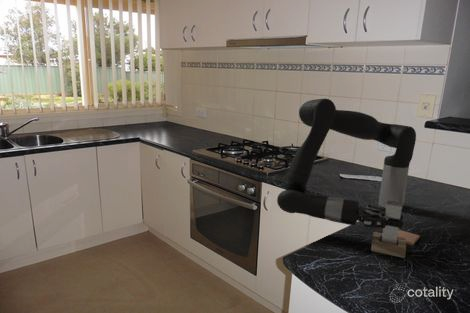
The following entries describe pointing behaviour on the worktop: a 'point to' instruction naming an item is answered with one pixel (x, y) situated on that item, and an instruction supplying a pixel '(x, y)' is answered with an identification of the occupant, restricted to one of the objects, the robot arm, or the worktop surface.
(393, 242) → the grey tapered block
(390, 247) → the socket block
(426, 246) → the worktop surface
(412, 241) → the tile
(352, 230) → the worktop surface
